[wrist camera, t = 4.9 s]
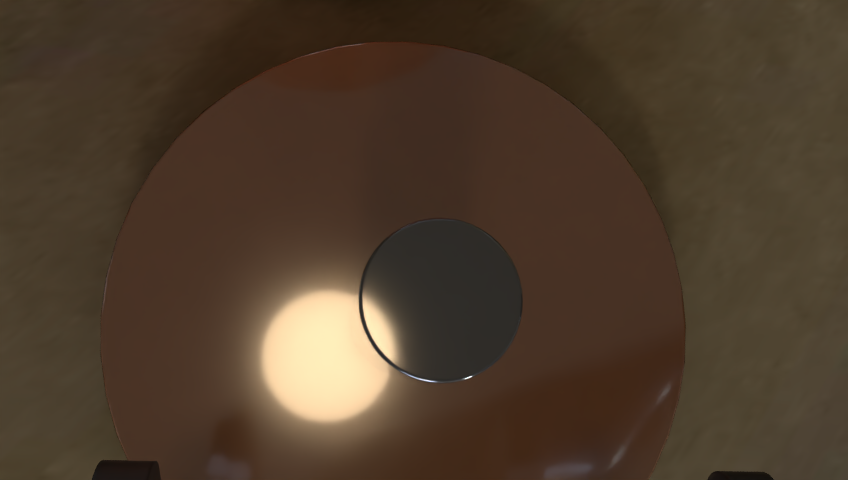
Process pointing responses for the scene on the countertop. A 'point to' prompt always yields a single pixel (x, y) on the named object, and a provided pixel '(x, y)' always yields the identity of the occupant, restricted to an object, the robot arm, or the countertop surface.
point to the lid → (393, 283)
